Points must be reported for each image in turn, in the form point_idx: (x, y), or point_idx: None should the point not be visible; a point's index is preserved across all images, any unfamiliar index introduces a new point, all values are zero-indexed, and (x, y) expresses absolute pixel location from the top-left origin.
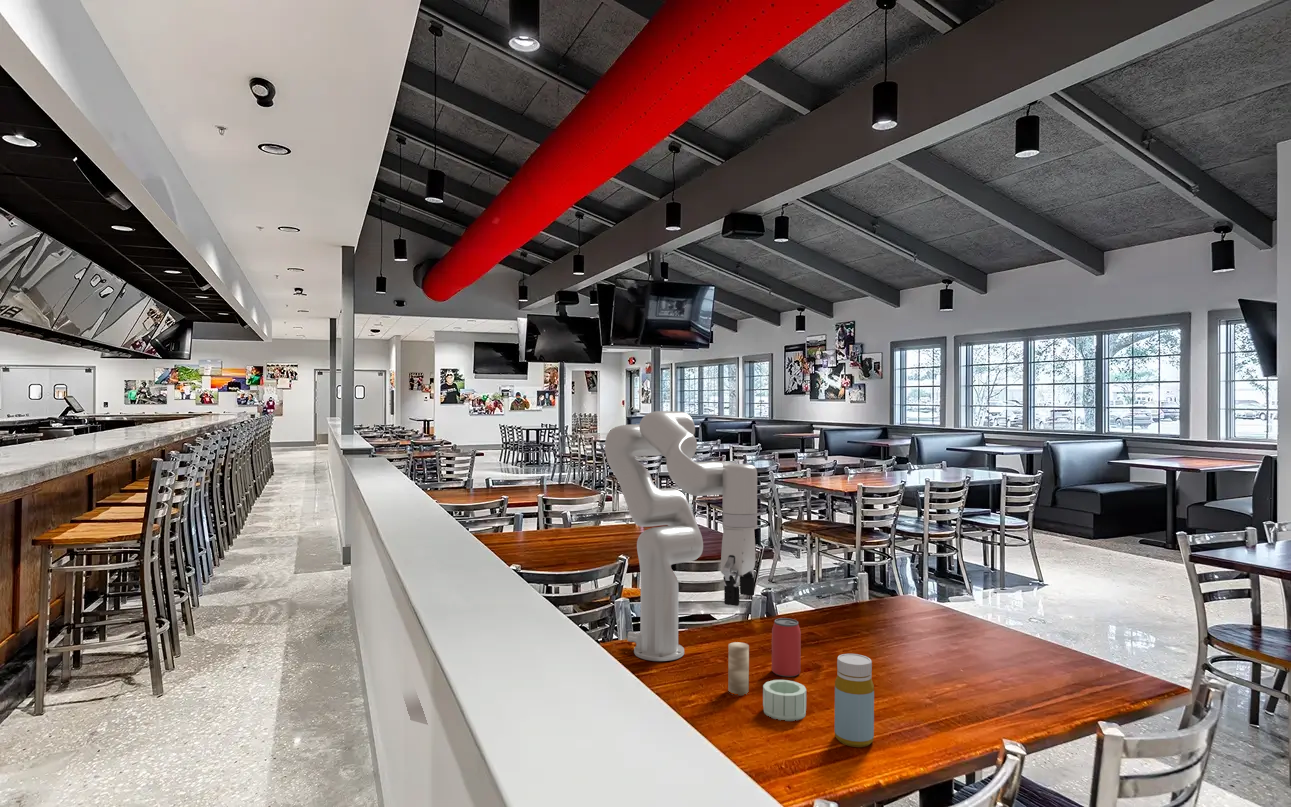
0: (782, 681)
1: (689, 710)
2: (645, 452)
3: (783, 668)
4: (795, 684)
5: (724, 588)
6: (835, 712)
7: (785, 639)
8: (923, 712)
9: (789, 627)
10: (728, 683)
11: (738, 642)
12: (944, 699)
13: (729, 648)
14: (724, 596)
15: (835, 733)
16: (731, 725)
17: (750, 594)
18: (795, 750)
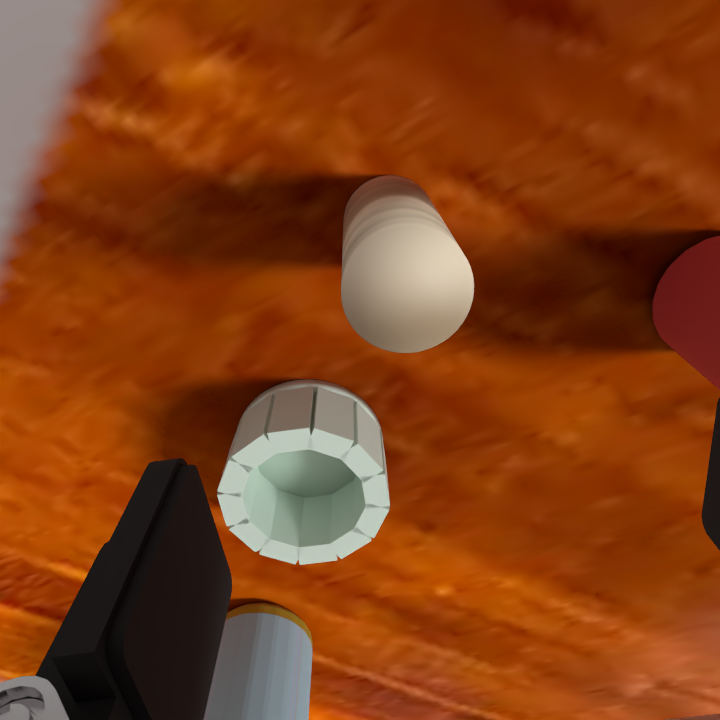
0: (360, 471)
1: (63, 148)
2: None
3: (666, 322)
4: (361, 517)
5: (76, 610)
6: (213, 674)
7: None
8: (544, 696)
9: None
10: (360, 193)
11: (465, 262)
12: (665, 710)
13: (353, 250)
14: (124, 516)
15: (226, 619)
16: (83, 353)
17: (706, 510)
18: (90, 557)
